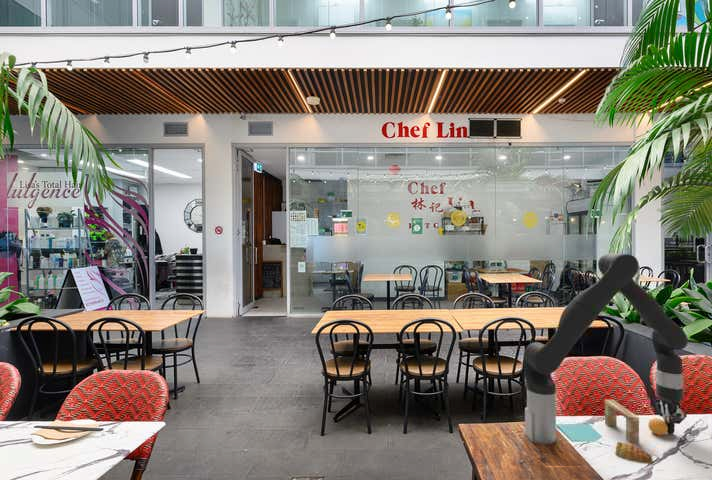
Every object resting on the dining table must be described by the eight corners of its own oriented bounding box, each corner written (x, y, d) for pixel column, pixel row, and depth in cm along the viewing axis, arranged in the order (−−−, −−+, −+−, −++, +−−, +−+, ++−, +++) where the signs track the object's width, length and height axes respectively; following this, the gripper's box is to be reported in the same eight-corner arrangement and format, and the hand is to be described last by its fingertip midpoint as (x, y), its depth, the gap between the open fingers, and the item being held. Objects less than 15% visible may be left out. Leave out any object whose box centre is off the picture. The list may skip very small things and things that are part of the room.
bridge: (629, 444, 132) (629, 417, 132) (605, 423, 146) (604, 399, 146) (639, 444, 132) (638, 417, 132) (613, 424, 146) (613, 399, 146)
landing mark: (571, 441, 134) (571, 440, 134) (556, 424, 146) (556, 424, 146) (607, 442, 134) (607, 441, 134) (589, 425, 146) (589, 424, 146)
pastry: (653, 458, 123) (652, 446, 123) (651, 468, 118) (650, 455, 118) (617, 449, 129) (617, 437, 130) (614, 458, 124) (613, 446, 124)
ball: (665, 441, 136) (652, 432, 136) (654, 433, 141) (641, 424, 141) (675, 428, 135) (661, 419, 136) (663, 421, 141) (650, 412, 141)
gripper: (645, 376, 145) (645, 423, 145) (672, 390, 132) (672, 442, 132) (666, 377, 144) (666, 423, 144) (695, 391, 131) (695, 442, 131)
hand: (669, 432), depth 138 cm, fingers closed
